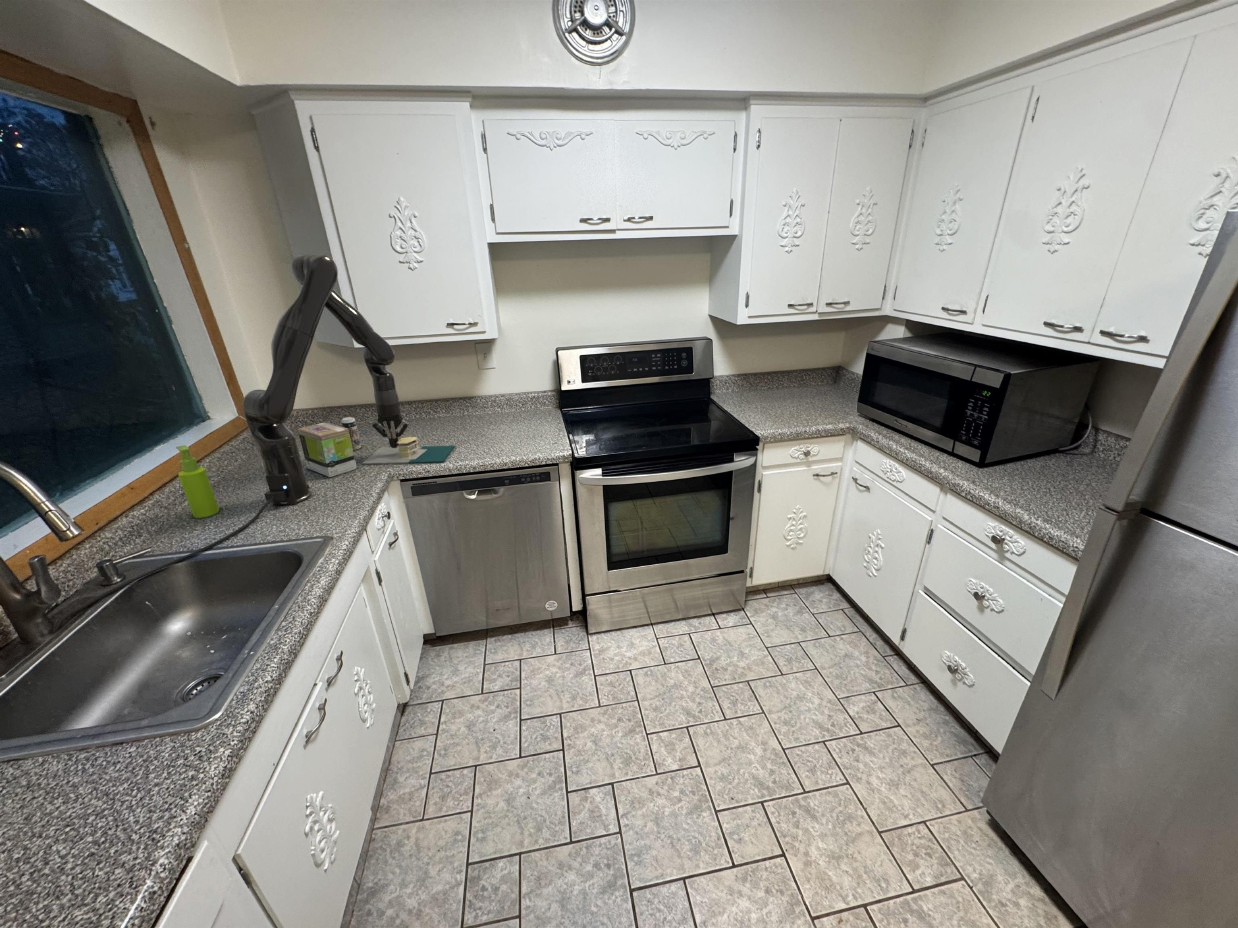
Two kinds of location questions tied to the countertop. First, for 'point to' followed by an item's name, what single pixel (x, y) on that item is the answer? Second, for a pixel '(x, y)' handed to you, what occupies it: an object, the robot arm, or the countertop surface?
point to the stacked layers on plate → (408, 449)
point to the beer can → (352, 431)
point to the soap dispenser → (196, 486)
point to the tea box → (327, 449)
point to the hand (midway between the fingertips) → (394, 447)
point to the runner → (429, 456)
